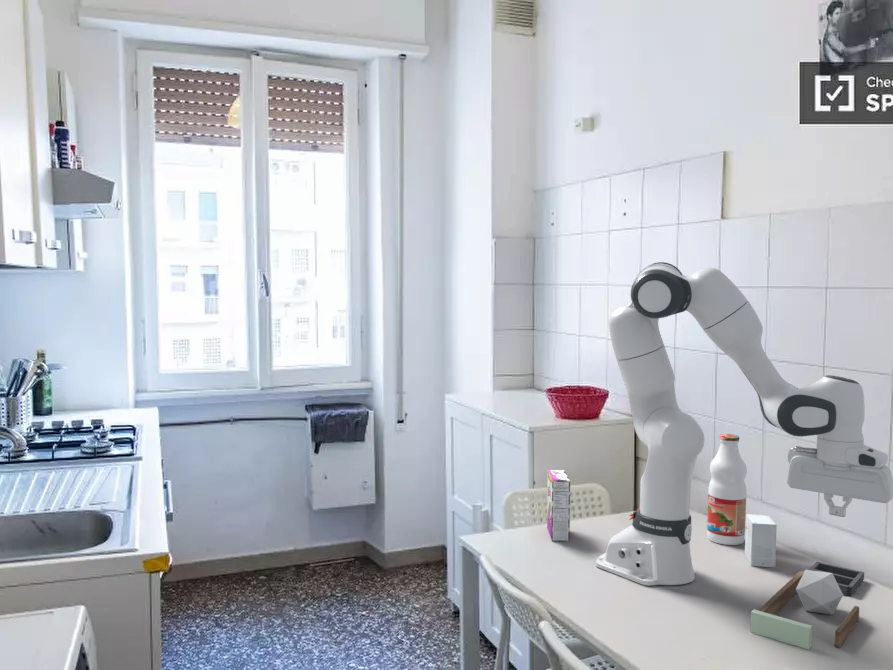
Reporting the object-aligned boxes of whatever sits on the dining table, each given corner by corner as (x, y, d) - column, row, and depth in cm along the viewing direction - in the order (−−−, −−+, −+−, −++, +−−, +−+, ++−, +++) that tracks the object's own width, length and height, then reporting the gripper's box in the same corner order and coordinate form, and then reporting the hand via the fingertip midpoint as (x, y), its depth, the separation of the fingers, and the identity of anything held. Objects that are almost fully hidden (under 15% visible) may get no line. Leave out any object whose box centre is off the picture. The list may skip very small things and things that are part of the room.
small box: (775, 568, 178) (777, 524, 177) (750, 566, 179) (752, 523, 178) (768, 556, 186) (769, 515, 185) (744, 554, 187) (745, 513, 186)
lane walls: (751, 631, 144) (751, 616, 144) (799, 583, 168) (799, 570, 168) (833, 655, 135) (834, 639, 135) (872, 602, 159) (873, 588, 159)
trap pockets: (801, 584, 168) (802, 575, 168) (816, 569, 177) (816, 561, 177) (851, 596, 161) (851, 587, 161) (863, 580, 170) (864, 572, 170)
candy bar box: (545, 528, 206) (546, 469, 205) (563, 528, 206) (565, 469, 205) (550, 541, 194) (552, 479, 193) (569, 542, 194) (571, 480, 193)
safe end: (750, 631, 144) (751, 611, 144) (752, 629, 145) (753, 609, 145) (808, 649, 137) (809, 628, 137) (810, 646, 138) (811, 625, 138)
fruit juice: (751, 545, 194) (755, 438, 192) (718, 546, 192) (722, 439, 190) (732, 533, 203) (736, 431, 201) (700, 534, 201) (703, 432, 200)
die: (828, 626, 148) (856, 587, 149) (788, 597, 152) (815, 558, 153) (822, 624, 156) (848, 587, 156) (784, 596, 160) (810, 560, 160)
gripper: (783, 447, 164) (781, 509, 165) (890, 461, 151) (887, 528, 151) (792, 442, 169) (790, 503, 170) (896, 456, 155) (894, 521, 156)
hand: (837, 515), depth 160 cm, fingers closed
